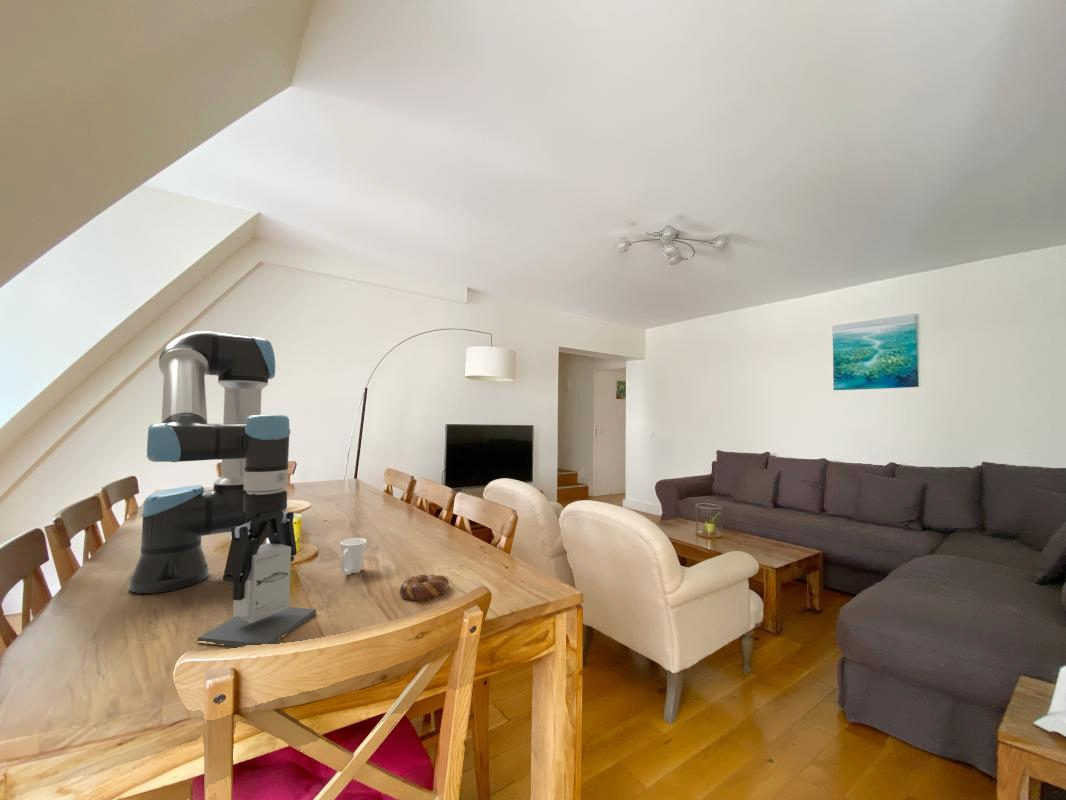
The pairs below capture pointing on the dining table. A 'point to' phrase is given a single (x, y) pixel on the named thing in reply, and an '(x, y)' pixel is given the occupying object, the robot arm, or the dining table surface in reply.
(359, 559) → the cup
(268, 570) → the supplement box
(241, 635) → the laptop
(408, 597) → the pretzel
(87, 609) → the dining table surface
